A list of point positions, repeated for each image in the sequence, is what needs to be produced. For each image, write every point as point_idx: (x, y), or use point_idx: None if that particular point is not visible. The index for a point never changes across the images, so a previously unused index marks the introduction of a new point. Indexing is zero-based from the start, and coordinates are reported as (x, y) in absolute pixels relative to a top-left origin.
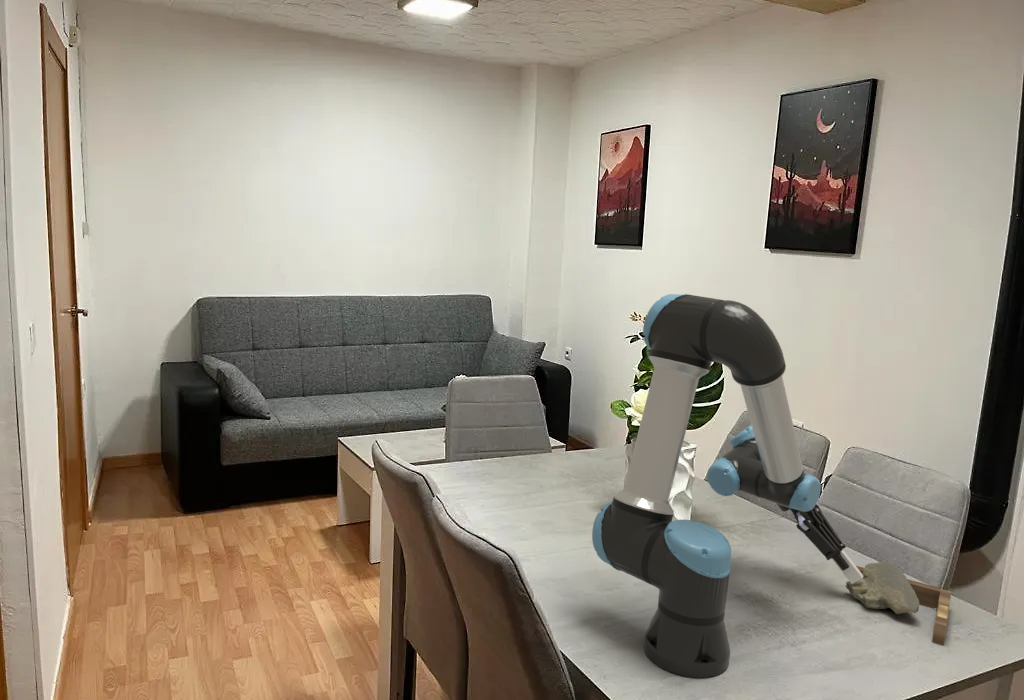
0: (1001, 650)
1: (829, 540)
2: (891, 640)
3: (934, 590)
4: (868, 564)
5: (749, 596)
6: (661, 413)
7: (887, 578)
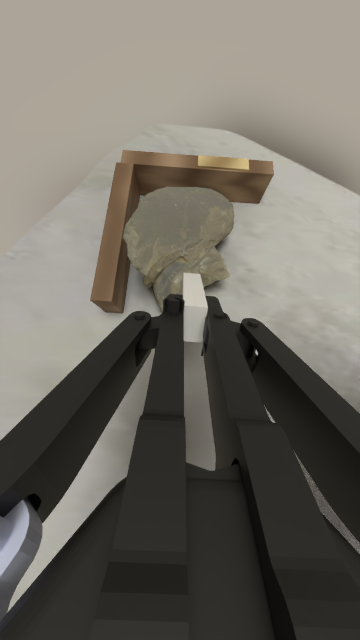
0: (220, 139)
1: (240, 349)
2: (295, 248)
3: (132, 171)
4: (134, 259)
5: (318, 502)
6: None
7: (183, 224)
